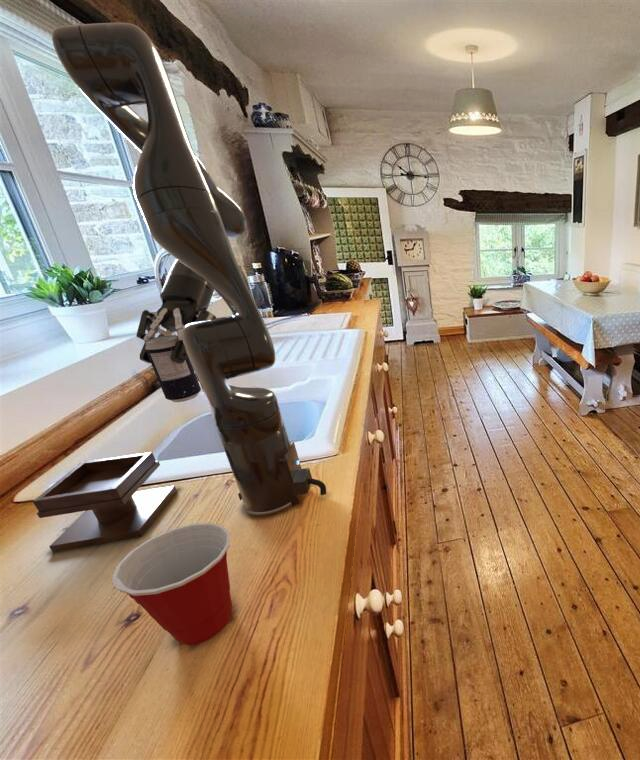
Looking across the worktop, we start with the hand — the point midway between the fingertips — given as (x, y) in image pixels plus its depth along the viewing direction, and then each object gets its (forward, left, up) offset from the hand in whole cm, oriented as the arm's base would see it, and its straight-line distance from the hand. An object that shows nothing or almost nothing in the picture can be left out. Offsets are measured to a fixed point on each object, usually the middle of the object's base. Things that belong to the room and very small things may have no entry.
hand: (161, 361), depth 75 cm
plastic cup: (-16, +40, -23) cm, 49 cm away
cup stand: (+7, +14, -23) cm, 28 cm away
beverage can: (-1, -2, -8) cm, 9 cm away
